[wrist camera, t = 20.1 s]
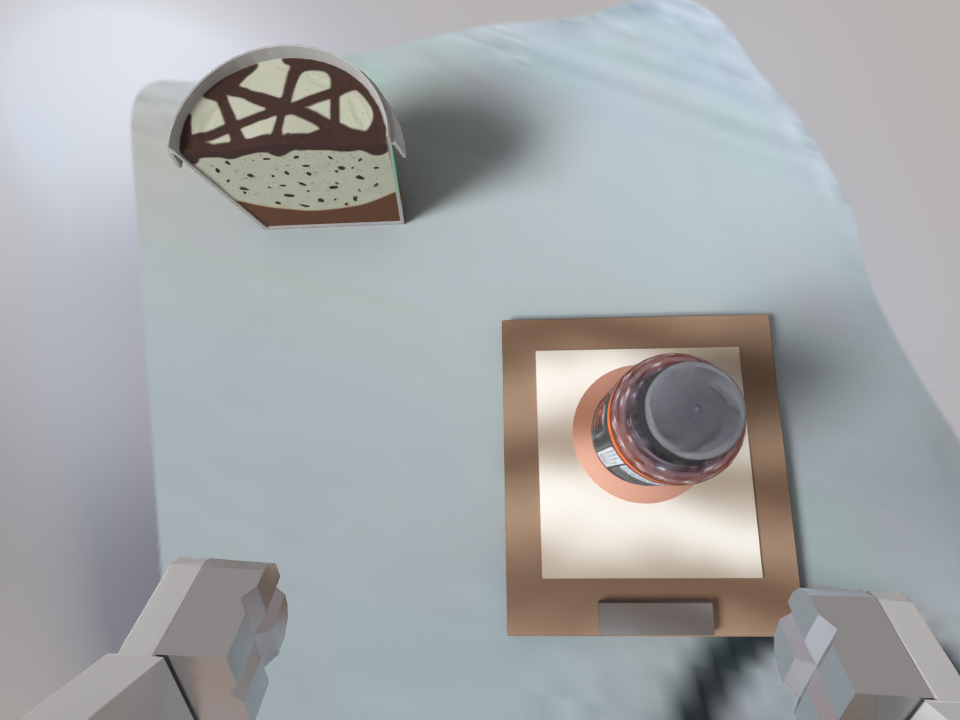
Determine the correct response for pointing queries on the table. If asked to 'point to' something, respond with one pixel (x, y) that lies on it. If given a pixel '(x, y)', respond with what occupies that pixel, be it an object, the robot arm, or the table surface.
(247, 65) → the food container
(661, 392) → the supplement bottle
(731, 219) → the table surface
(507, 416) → the clipboard
